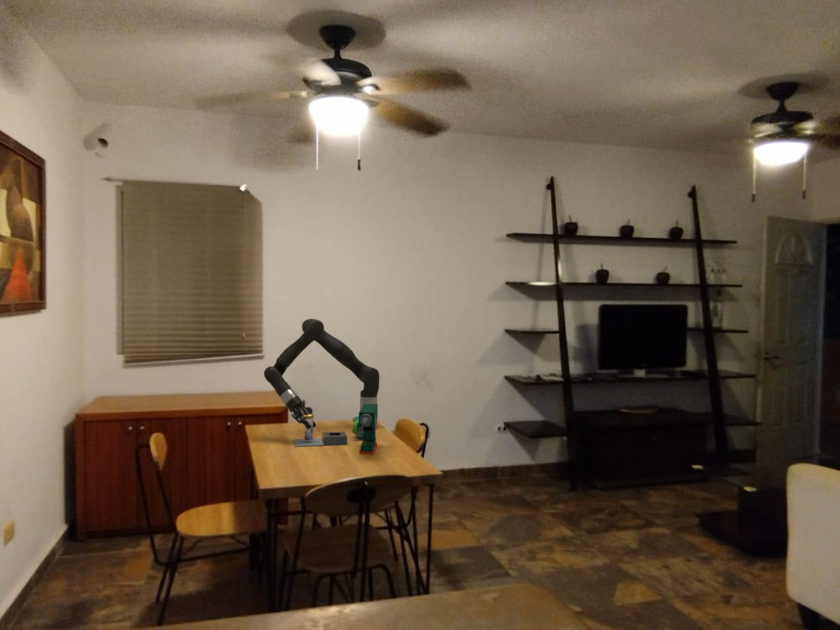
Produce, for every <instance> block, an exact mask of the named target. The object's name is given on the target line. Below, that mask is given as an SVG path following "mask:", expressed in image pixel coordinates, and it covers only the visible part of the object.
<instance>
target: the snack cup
mask: <svg viewBox="0 0 840 630" xmlns="http://www.w3.org/2000/svg"><path fill="white" fill-rule="evenodd" d="M352 422H353V425H352V426H353V428H352V433H353V435H355V438H357V439H360V440H363V427H359V415H357V416H354V417H352Z"/></svg>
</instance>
